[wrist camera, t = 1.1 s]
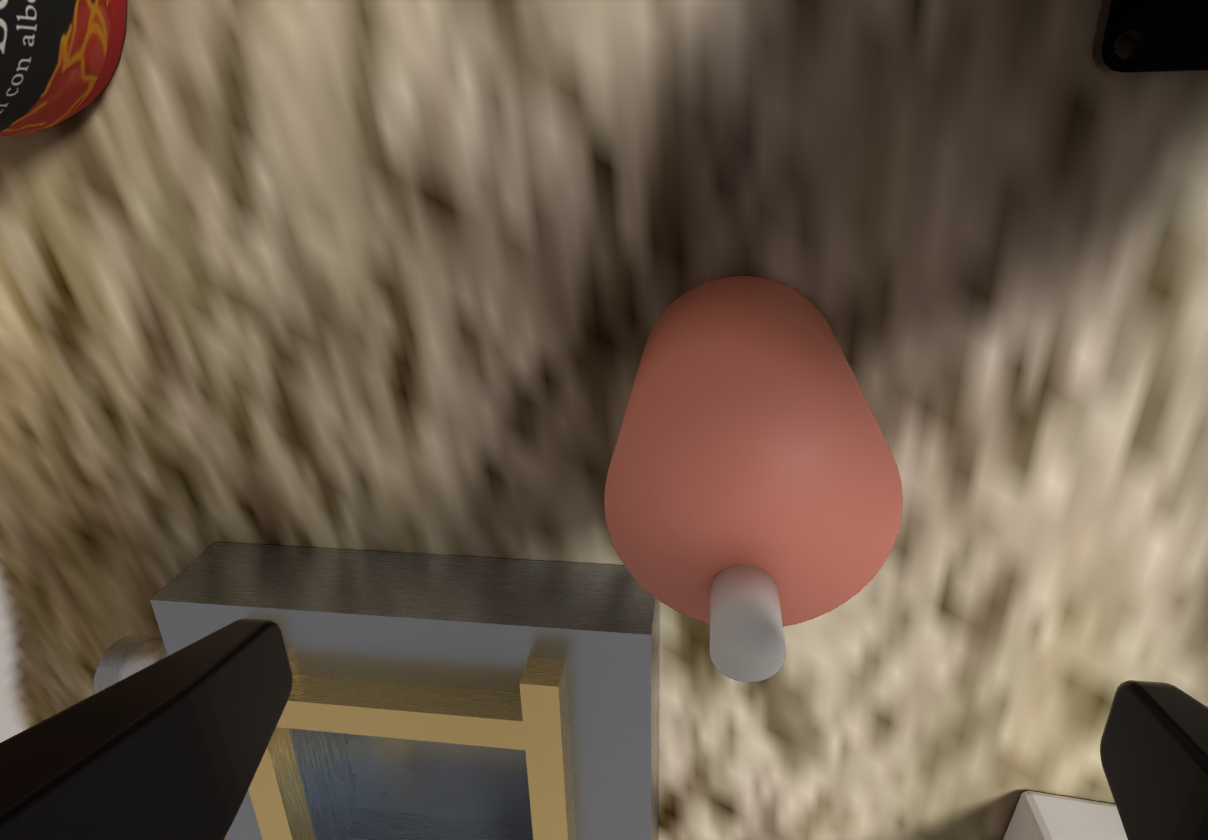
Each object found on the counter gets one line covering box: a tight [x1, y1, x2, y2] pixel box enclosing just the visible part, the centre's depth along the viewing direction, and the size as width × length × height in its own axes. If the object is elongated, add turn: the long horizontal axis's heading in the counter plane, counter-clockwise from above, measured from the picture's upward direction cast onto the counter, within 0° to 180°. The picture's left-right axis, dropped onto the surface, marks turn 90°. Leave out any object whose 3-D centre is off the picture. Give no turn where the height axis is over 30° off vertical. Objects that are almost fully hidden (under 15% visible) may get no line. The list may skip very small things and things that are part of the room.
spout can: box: [604, 276, 903, 682], centre depth 15 cm, size 5×5×9 cm
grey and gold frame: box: [93, 542, 659, 840], centre depth 24 cm, size 17×14×4 cm
